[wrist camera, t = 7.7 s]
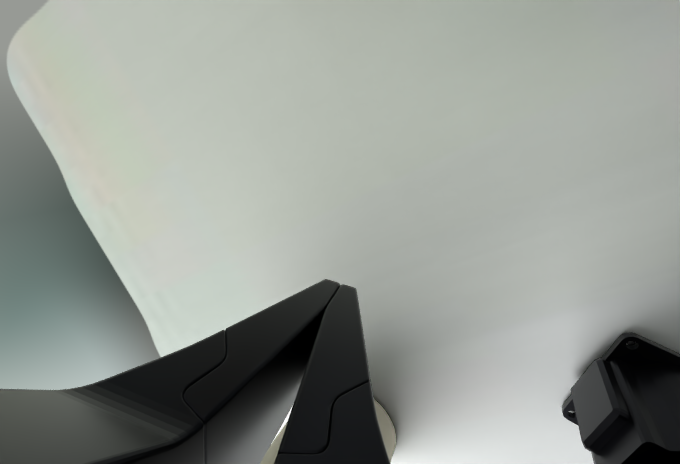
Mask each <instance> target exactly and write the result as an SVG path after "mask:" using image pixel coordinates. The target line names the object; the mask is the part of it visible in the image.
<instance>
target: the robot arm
mask: <svg viewBox="0 0 680 464" xmlns="http://www.w3.org/2000/svg"><path fill="white" fill-rule="evenodd" d="M629 341H635V342H636V343H635V344H634V345H627V344H626V343H627V342H629ZM370 382H371V380H370V374H369V367H368V361H367V354H366V348H365V341H364V335H363V328H362V322H361V315H360V309H359V302H358V296H357V290H356V288H354V287H350V286H347V285H344V284H342V285H341V286H340V284H339V283H337V282H334V281H331V280H328V279H325V280H323V281H321V282H319V283H317V284H315V285H313V286H311V287H309V288H307V289H305V290H303V291H301V292H299V293H297V294H295V295H293V296H291V297H289V298H287V299H285V300H282V301H280V302H278V303H276V304H274V305H272V306H270V307H268V308H266V309H264V310H262V311H260V312H258V313H256V314H254V315H252V316H250V317H248V318H246V319H244V320H242V321H240V322H238V323H236V324H234V325H232V326H230V327H228V328H226V330H222V331H220V332H218V333H216V334H214V335H212V336H210V337H208V338H205V339H203V340H201V341H199V342H197V343H195V344H193V345H190V346H188V347H186V348H183V349H181V350H178V351H176V352H174V353H171V354H169V355H166V356H164V357H161V358H159V359H156V360H154V361H151V362H148V363H146V364H143V365H141V366H138V367H135V368H133V369H130V370H128V371H125V372H123V373H120V374H117V375H115V376H112V377H110V378H107V379H105V380H102V381H99V382H96V383H93V384H90V385H86V386H83V387H78V388H72V389H64V390H25V389H0V464H260V463H261V461H262V460H263V458H264V456H265V454H266V452H267V450H268V449H269V447H270V445H271V443H272V441H273V440H274V438H275V436H276V434H277V432H278V431H279V429H280V427H281V425H282V423H283V422H284V420H285V418H286V416H287V414H288V412H289V411H290V409H291V407H292V405H293V407H292V410H291V413H290V416H289V419H288V422H287V426H286V429H285V432H284V435H283V438H282V441H281V444H280V447H279V450H278V453H277V457H276V459H275V462H274V464H390V461H389V457H388V454H387V451H386V447H385V444H384V441H383V437H382V433H381V430H380V426H379V422H378V419H377V414H376V408H375V403H374V398H373V392H372V386H371V383H370ZM571 393H572V394H571V395H570V397H569V398H568V399H567V400H566V401H565V403H564V404H563V405H562V412H563V415H564V417H565V418H566V419H568V420H569V421H571V422H573V423H575V424H577V425H578V426H579V430H580V435H581V439H582V443H583V445H584V447H585V449H587V450H589V451H591V452H592V456H593V461H594V464H680V354H679V353H676V352H674V351H672V350H670V349H668V348H666V347H663V346H661V345H659V344H657V343H655V342H652V341H650V340H648V339H646V338H644V337H642V336H639V335H637V334H634V333H624V334H622V335H621V336H620V337H619V338H618V339H617V340H616V341H615V343H614V344H613V345H612V346H611V347H610V349H609V350H608V351H607V352H606V353H605V355H604V356H603V357H602V358H601V359H597V360H594V362H593V363H592V364H591V365H590V366H589V368H588V369H587V370H586V371H585V373H584V374H583V375H582V376H581V377H580V379H579V380H578V381H577V382H576V383H575V385H574V386H573V387H572V388H571ZM293 403H294V404H293ZM571 410H573V411H575V413H570V412H568V411H571Z"/></svg>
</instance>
